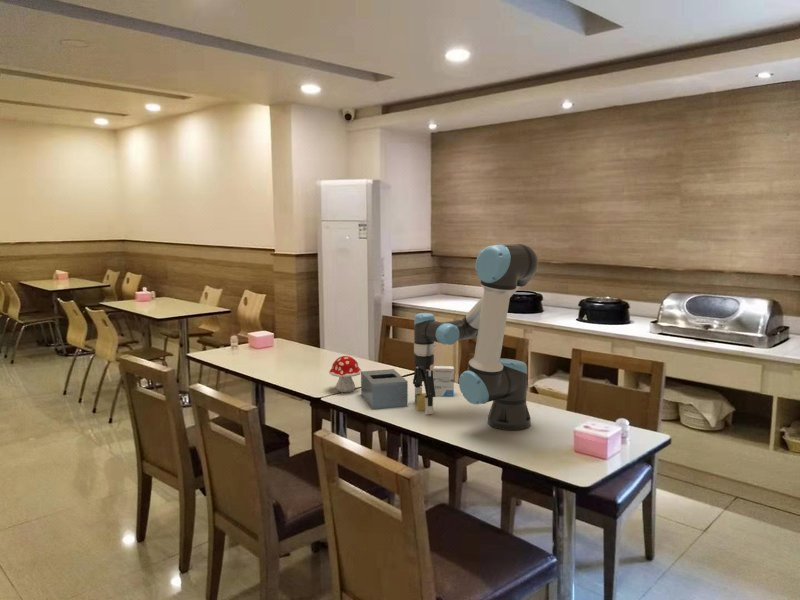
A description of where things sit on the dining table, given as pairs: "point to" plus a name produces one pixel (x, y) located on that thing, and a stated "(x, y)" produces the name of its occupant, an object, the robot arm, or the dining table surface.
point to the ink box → (443, 380)
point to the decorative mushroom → (345, 373)
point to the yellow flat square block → (420, 401)
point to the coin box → (384, 389)
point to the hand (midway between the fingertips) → (423, 408)
